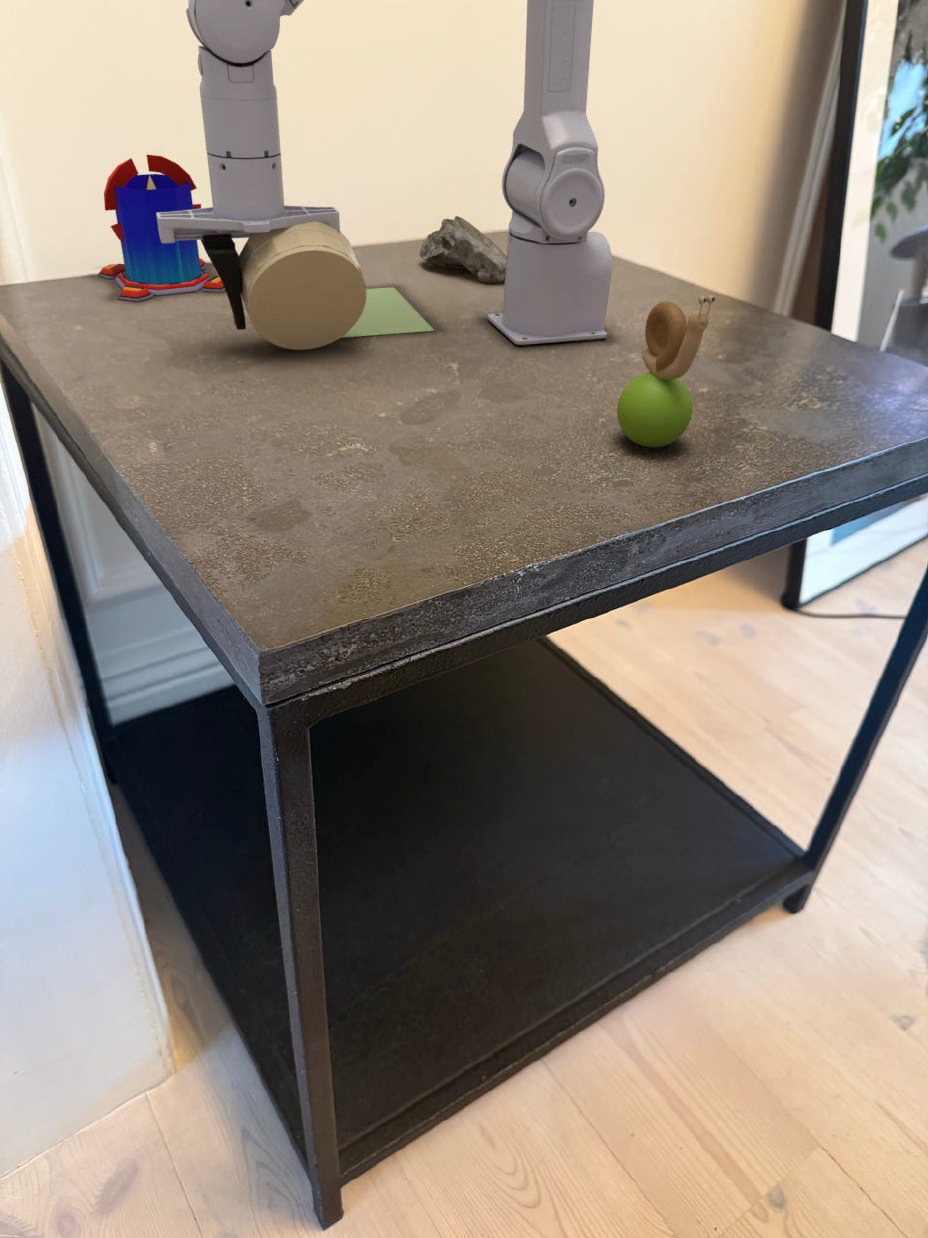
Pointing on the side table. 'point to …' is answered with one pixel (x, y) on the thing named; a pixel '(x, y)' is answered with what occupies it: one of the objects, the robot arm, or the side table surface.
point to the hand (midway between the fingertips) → (259, 324)
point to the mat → (387, 315)
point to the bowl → (301, 285)
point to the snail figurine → (663, 376)
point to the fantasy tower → (153, 232)
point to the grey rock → (465, 250)
